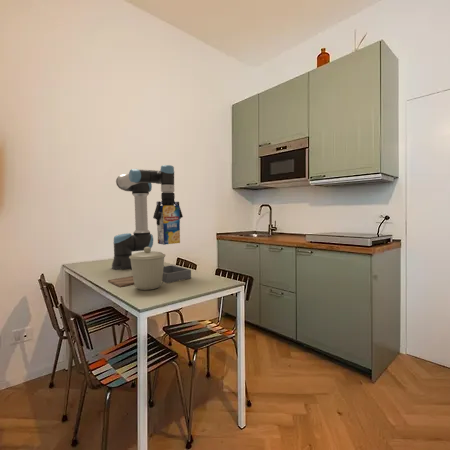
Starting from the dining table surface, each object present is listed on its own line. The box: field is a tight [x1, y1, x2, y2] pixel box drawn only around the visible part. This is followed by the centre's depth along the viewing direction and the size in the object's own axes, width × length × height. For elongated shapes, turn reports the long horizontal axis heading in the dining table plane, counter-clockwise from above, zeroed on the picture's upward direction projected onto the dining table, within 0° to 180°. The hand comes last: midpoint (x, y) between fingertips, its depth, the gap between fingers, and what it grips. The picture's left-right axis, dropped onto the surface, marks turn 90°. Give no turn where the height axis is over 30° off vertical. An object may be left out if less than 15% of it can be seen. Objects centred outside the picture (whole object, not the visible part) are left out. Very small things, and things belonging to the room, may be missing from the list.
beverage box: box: [156, 205, 181, 246], centre depth 169 cm, size 7×11×22 cm, turn 132°
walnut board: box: [107, 275, 135, 288], centre depth 161 cm, size 16×14×1 cm
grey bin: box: [162, 264, 192, 284], centre depth 171 cm, size 20×16×5 cm
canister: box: [129, 247, 167, 291], centre depth 149 cm, size 18×18×21 cm
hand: (168, 230), depth 170 cm, fingers closed on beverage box, 11 cm apart
